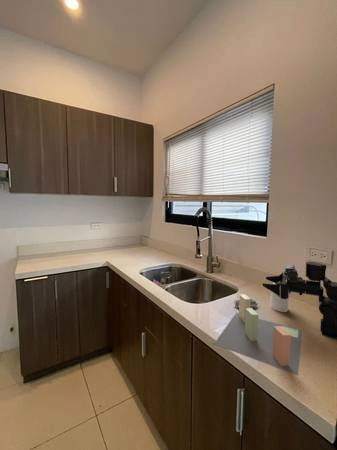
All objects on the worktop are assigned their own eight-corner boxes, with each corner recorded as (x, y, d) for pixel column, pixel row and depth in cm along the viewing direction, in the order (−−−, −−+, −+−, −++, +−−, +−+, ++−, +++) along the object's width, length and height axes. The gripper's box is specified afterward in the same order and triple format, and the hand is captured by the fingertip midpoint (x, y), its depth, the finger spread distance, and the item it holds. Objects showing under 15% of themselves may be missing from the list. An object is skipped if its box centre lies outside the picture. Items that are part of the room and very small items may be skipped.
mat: (301, 331, 88) (301, 330, 88) (297, 376, 65) (297, 374, 65) (236, 313, 102) (236, 312, 102) (213, 345, 79) (213, 343, 79)
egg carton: (243, 314, 103) (243, 305, 102) (232, 307, 109) (232, 299, 109) (259, 309, 108) (259, 301, 107) (247, 303, 114) (248, 295, 114)
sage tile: (250, 332, 86) (251, 308, 85) (257, 340, 81) (258, 314, 80) (244, 333, 86) (245, 308, 85) (250, 340, 81) (251, 314, 80)
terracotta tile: (279, 354, 73) (280, 326, 72) (288, 365, 68) (290, 334, 68) (272, 355, 73) (273, 326, 72) (281, 366, 68) (283, 335, 67)
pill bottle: (271, 303, 113) (273, 275, 112) (289, 308, 109) (291, 278, 107) (268, 309, 107) (270, 279, 106) (287, 314, 102) (288, 283, 101)
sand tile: (244, 315, 99) (245, 294, 98) (249, 321, 94) (250, 299, 93) (238, 316, 99) (239, 294, 98) (243, 322, 94) (244, 299, 93)
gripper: (305, 262, 98) (267, 258, 106) (305, 274, 82) (260, 269, 90) (305, 286, 99) (267, 280, 107) (304, 303, 83) (260, 295, 91)
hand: (264, 281), depth 99 cm, fingers open, 9 cm apart
